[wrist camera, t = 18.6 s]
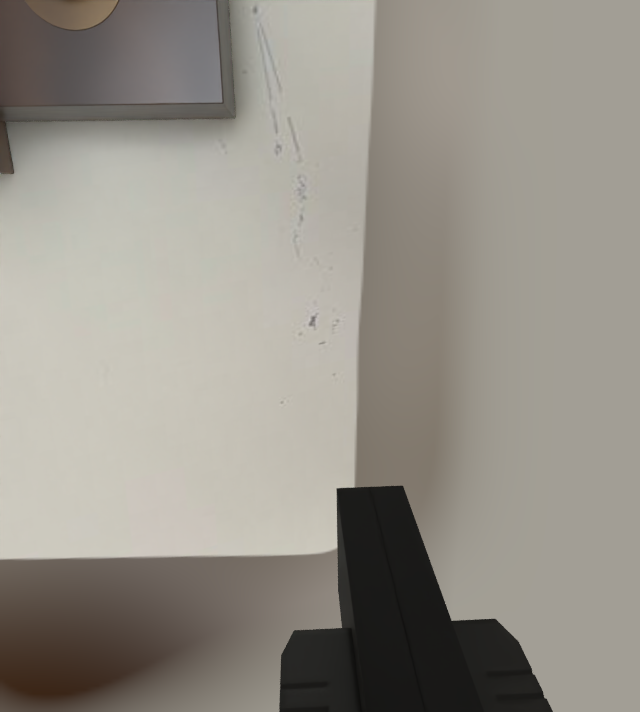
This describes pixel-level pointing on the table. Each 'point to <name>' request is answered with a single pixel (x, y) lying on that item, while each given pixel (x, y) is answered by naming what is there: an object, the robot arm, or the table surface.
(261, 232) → the table surface
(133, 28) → the case
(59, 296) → the table surface
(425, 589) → the robot arm
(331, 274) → the table surface
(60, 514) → the table surface
